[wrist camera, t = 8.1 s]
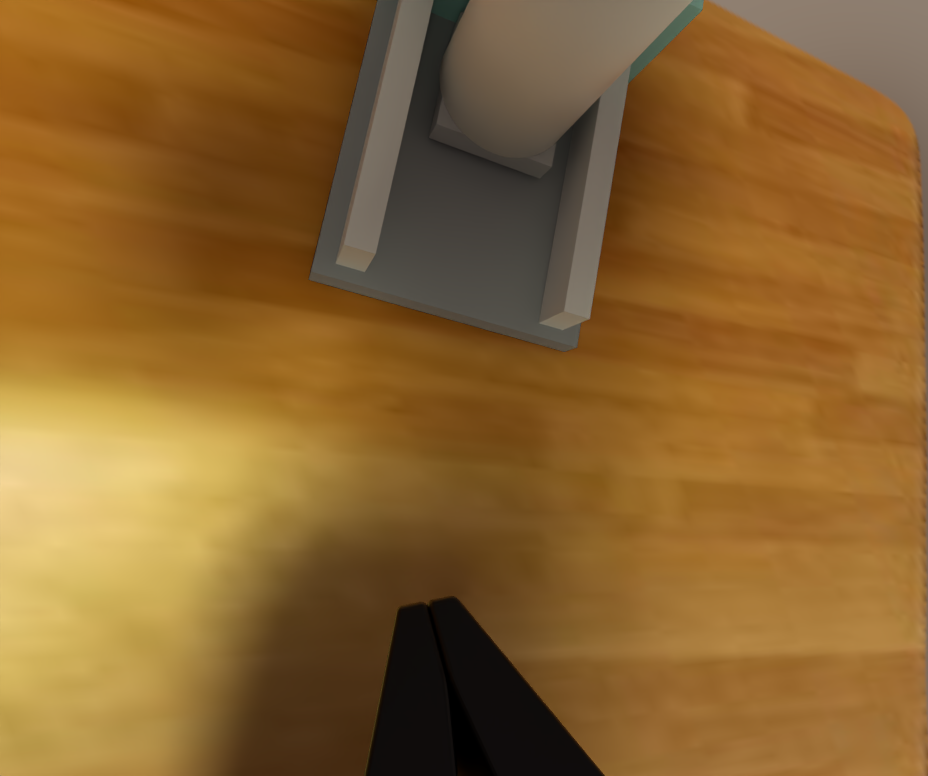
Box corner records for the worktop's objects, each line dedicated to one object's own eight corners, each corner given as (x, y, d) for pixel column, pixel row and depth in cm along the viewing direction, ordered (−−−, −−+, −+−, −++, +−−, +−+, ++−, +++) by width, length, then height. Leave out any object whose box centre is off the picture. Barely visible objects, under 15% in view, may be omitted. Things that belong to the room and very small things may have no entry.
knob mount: (564, 351, 25) (657, 319, 19) (308, 279, 22) (328, 216, 16) (614, 53, 27) (711, -54, 21) (389, -48, 24) (431, -203, 18)
